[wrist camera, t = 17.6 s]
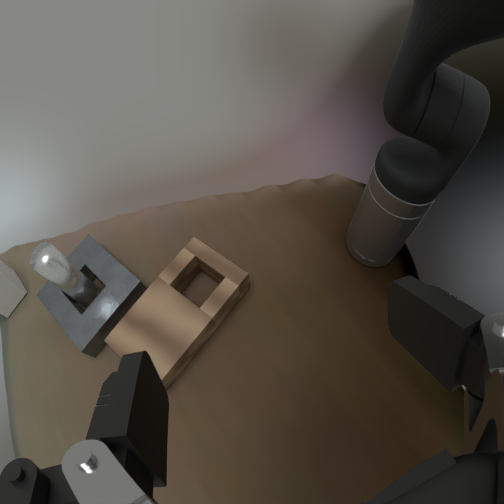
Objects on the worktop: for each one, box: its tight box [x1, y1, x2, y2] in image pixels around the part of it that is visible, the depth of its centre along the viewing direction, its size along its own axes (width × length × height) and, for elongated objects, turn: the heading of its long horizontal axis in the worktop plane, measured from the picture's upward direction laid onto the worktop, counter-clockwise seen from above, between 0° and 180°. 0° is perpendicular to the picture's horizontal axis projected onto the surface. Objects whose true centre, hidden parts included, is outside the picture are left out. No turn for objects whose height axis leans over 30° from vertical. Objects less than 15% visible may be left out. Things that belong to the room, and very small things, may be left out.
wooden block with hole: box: [104, 237, 250, 390], centre depth 43 cm, size 20×10×5 cm, turn 144°
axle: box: [31, 242, 102, 308], centre depth 40 cm, size 4×4×16 cm
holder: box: [37, 234, 147, 358], centre depth 45 cm, size 14×14×4 cm
